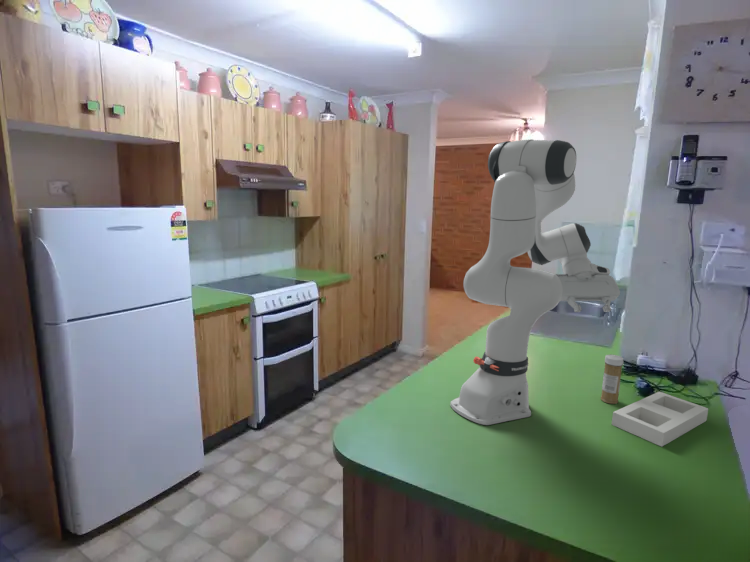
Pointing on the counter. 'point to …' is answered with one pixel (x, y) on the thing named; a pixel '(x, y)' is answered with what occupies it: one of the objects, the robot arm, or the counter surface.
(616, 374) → the sprinkles bottle
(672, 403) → the bottle stand
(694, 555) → the counter surface
